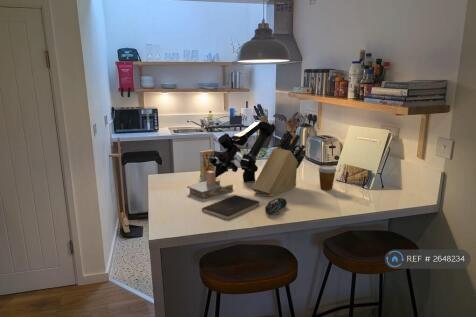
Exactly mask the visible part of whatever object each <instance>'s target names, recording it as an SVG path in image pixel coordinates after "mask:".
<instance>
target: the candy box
mask: <svg viewBox="0 0 476 317" xmlns="http://www.w3.org/2000/svg"><path fill="white" fill-rule="evenodd" d="M215 151H216V150H214V149H208V150H201V151H199V164H200V165H199V170H200V171H199V172H200V176H202V177H206V171H214V172H215V170H216V167H215V166H213V165H212V164H211V163H210V162H209V161H208V160H209V159H210V158H211V157H213V155H214V152H215ZM213 158H216V157H213Z"/></svg>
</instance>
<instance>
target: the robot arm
mask: <svg viewBox="0 0 476 317" xmlns="http://www.w3.org/2000/svg"><path fill="white" fill-rule="evenodd" d="M258 131H259V134H258V137H257V138H256V140H255V141H254V143H253V145H252V147H251V148H250V150H249V152H248V153H243V155H242V157H241V158H240V161H239V165H240V168H241V170H242V171H243V172H242V180H243V182H244V183H245V182H246V183H247V182H249V183H255V182H256V172H258V170H259V167H258V166H257V165H256V163H257V156H258V154H259V152H260V151H261V149H262V147H263V146H264V144H265V142H266V141H267V139H268V138H269V137H271V136H272V135H273V134H274V132H276V126H275V123H271V122H266V121H264V120H257V119H256V120H255V121H254V122H253V123H252V124H250V125H249V126H248V127H247V128H246V129H244V130H243V131H241V132H237V133H235V134H233V135H232V136H230V134H229V133H226V132H225V133H224V134H223V135H221V136H219V137H218V139H217V142H218V143H219V144H220V145H221V147H222V148H224V150H225V151H217V150H214V151H215V152H214V155H213V157H215V158H213V157H211V158H210V159H209V160H208V161H209V162H210V163H211V164H212V165H213V166H215V177H216V178H218V177H219V176H221V175H223V174H225V173H227V172H229V169H231V171H232V172H234V173H237V172H238V169H239V168H238V167H239V166H237V164H236V163H234V162H233V161H235V156H236V154H237V153H242V150H241V147H243V146H244V145H246V143H247V142H248V140H249V138H250V137H251V136H253V135H254V134H256V133H257V132H258Z"/></svg>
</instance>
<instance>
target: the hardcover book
mask: <svg viewBox="0 0 476 317" xmlns="http://www.w3.org/2000/svg"><path fill="white" fill-rule="evenodd" d="M259 205H260V201H259V200H255V199H253V198H248V197H244V196H241V195H238V194H234V195H232V196H229V197H227V198H224V199H221V200H218V201H217V202H214V203H212V204H211V203H210V204H209V205H206V206H204V207H201V211H202V212H205V213H209V214H211V215H214V216H217V217H220V218H223V219H225V220H229V219H231V218H235V217H236V216H238V215H241V214H243V213H245V212H247V211H249V210H252V209H254V208H256V207H258V206H259Z"/></svg>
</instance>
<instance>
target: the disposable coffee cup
mask: <svg viewBox="0 0 476 317" xmlns="http://www.w3.org/2000/svg"><path fill="white" fill-rule="evenodd" d="M317 171H318V176H319V186H320V190H322V191H331V190H333V187H334V181H335V175H336V172H337V168H336V166H332V165H320V166H319V167H318V169H317Z"/></svg>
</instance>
